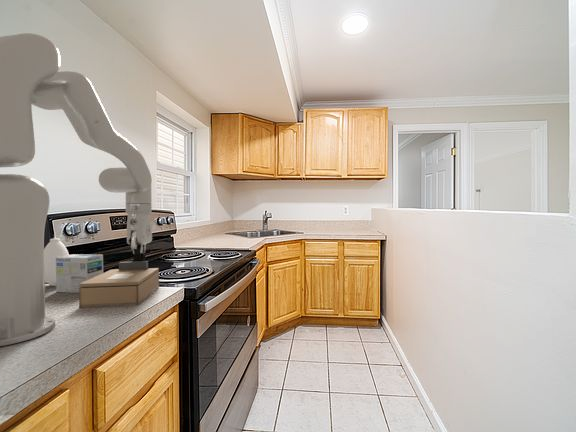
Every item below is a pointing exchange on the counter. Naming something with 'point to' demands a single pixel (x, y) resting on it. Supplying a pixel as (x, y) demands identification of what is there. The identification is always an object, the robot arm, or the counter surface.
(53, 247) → the sauce bottle
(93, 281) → the lid
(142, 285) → the mailer box
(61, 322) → the counter surface
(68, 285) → the light bulb box
